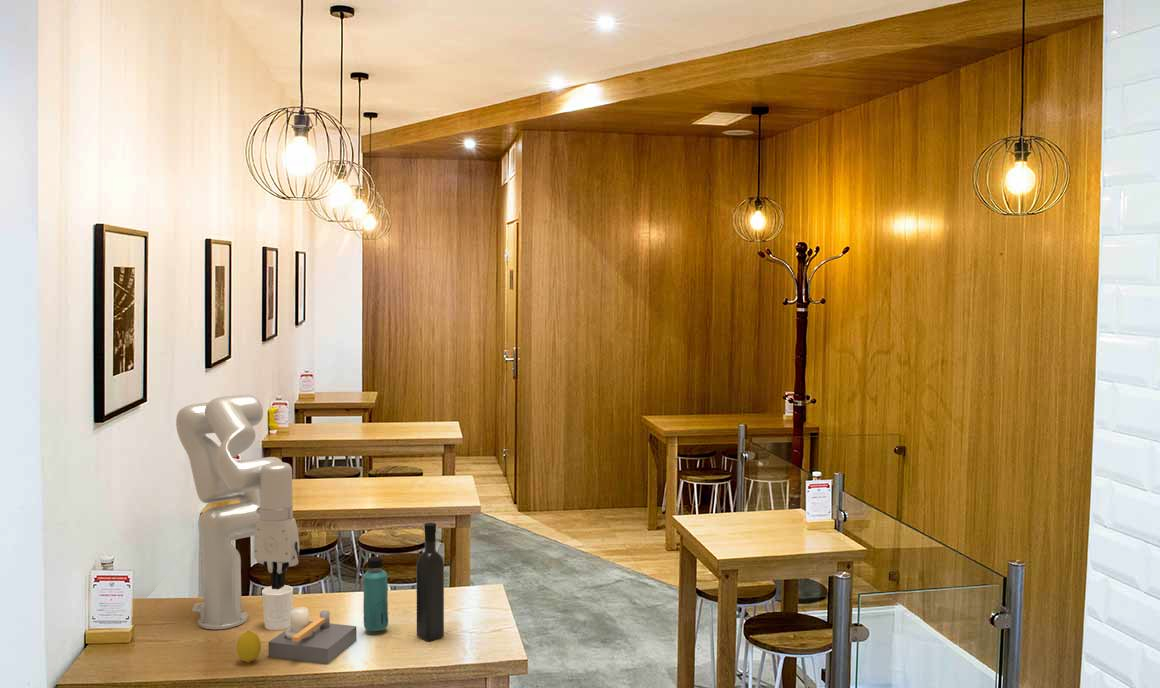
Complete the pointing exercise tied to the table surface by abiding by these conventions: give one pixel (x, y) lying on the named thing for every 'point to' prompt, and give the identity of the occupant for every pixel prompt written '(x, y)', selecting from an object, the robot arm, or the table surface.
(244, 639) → the lemon
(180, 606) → the table surface
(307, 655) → the dock
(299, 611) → the plug
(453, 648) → the table surface
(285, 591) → the white cup
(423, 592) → the wine bottle
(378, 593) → the beverage bottle
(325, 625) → the hammer
